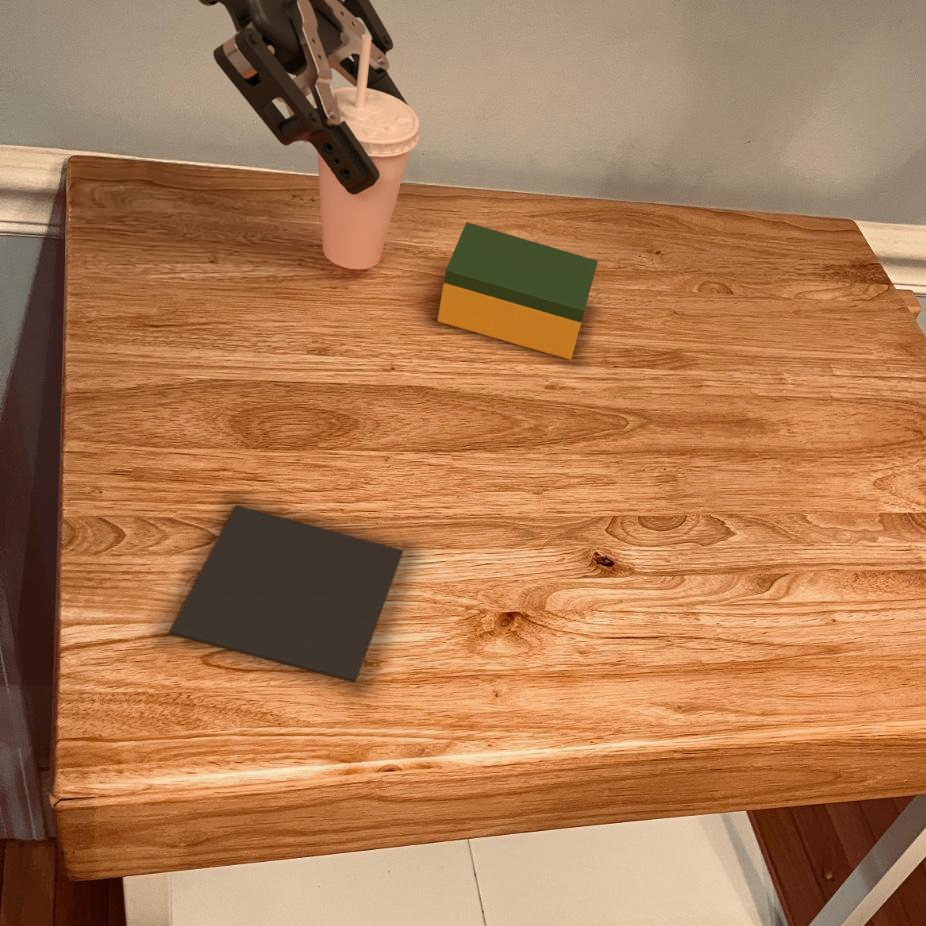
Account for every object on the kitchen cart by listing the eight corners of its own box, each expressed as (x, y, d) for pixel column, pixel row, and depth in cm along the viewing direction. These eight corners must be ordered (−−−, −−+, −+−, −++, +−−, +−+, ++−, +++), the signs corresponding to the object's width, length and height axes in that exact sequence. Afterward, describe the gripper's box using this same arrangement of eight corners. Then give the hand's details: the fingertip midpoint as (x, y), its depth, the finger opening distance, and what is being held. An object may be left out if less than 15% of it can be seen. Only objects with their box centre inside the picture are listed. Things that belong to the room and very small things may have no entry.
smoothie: (346, 212, 80) (367, 4, 70) (421, 258, 79) (453, 52, 69) (280, 245, 76) (292, 29, 66) (357, 294, 75) (381, 81, 65)
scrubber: (437, 321, 77) (445, 269, 74) (457, 272, 81) (466, 221, 78) (570, 360, 78) (584, 310, 75) (584, 309, 82) (598, 260, 79)
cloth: (169, 633, 56) (169, 631, 56) (235, 507, 62) (235, 504, 62) (355, 682, 57) (355, 679, 57) (402, 552, 63) (402, 550, 63)
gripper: (187, -114, 57) (394, 190, 66) (306, -186, 67) (471, 87, 75) (89, -37, 60) (297, 241, 69) (215, -116, 70) (383, 136, 79)
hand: (387, 160), depth 72 cm, fingers closed on smoothie, 6 cm apart
